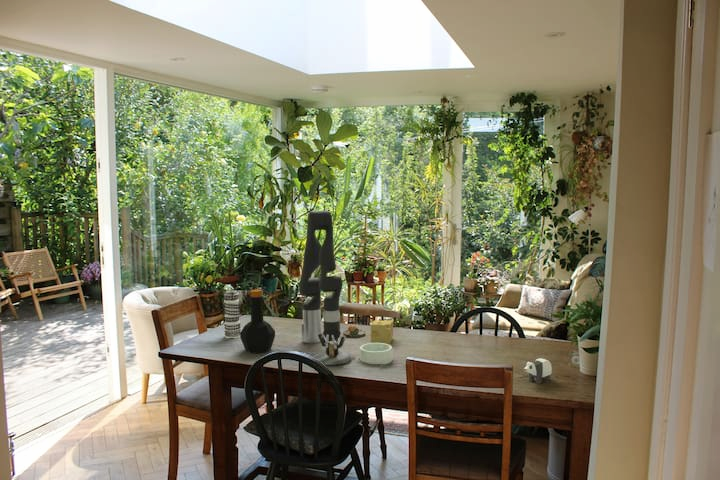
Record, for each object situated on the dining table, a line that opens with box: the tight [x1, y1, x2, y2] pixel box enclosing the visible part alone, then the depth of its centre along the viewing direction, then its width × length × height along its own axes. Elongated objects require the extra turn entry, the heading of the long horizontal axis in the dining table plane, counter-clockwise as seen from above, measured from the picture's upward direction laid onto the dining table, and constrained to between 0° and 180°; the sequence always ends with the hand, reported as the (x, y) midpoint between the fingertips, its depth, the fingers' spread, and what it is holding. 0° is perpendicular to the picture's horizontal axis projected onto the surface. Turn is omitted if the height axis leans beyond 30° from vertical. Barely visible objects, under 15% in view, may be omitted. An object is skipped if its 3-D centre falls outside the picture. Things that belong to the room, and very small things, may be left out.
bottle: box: [239, 289, 276, 354], centre depth 282 cm, size 16×16×30 cm
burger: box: [342, 323, 366, 339], centre depth 307 cm, size 12×12×8 cm
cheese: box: [370, 319, 394, 345], centre depth 294 cm, size 10×11×10 cm
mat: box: [325, 356, 356, 369], centre depth 262 cm, size 16×16×1 cm
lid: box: [313, 342, 352, 365], centre depth 262 cm, size 17×17×7 cm
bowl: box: [359, 342, 393, 365], centre depth 264 cm, size 15×15×6 cm
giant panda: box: [523, 357, 553, 385], centre depth 233 cm, size 15×6×10 cm, turn 125°
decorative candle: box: [222, 289, 242, 339], centre depth 306 cm, size 9×9×25 cm
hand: (332, 355), depth 262 cm, fingers closed on lid, 3 cm apart
